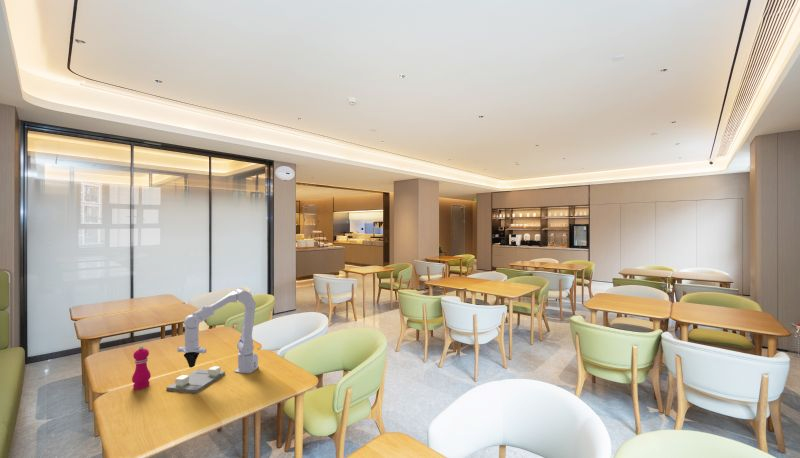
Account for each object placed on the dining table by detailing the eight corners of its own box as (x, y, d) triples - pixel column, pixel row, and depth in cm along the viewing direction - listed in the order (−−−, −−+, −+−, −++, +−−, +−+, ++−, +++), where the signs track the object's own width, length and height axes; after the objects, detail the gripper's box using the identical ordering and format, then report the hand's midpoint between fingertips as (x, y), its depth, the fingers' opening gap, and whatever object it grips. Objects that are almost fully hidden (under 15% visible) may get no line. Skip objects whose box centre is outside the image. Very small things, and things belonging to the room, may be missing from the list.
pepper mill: (140, 391, 159) (140, 349, 159) (128, 389, 161) (127, 348, 160) (154, 383, 166) (154, 343, 166) (142, 382, 168) (142, 342, 167)
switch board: (225, 374, 177) (225, 371, 177) (196, 393, 157) (196, 389, 157) (198, 372, 180) (198, 368, 180) (166, 390, 160) (166, 386, 160)
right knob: (220, 372, 175) (220, 366, 175) (215, 375, 171) (215, 369, 171) (213, 371, 176) (213, 366, 176) (208, 375, 172) (208, 369, 172)
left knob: (189, 381, 165) (189, 375, 164) (182, 385, 161) (182, 379, 161) (182, 381, 165) (182, 375, 165) (175, 384, 161) (175, 378, 161)
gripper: (172, 341, 163) (172, 369, 164) (198, 343, 161) (199, 371, 161) (183, 336, 170) (184, 363, 171) (209, 338, 168) (209, 365, 168)
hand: (192, 366), depth 167 cm, fingers closed
